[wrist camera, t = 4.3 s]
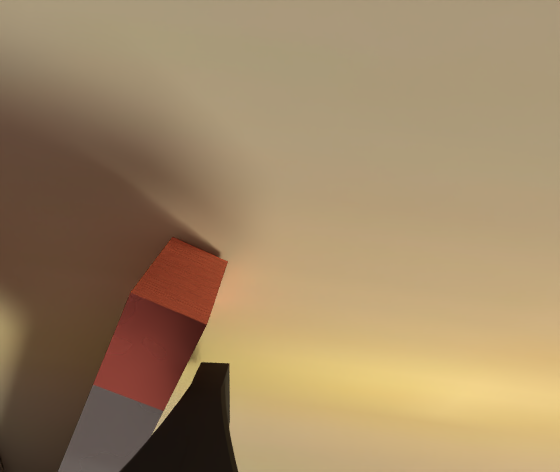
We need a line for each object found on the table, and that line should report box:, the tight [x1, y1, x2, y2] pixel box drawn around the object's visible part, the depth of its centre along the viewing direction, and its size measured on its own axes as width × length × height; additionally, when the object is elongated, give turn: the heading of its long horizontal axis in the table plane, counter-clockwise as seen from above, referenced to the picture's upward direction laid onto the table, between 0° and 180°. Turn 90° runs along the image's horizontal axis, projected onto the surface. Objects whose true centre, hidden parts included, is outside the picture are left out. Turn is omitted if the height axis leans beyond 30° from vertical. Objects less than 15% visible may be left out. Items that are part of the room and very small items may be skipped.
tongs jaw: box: [58, 237, 228, 472], centre depth 11 cm, size 12×2×3 cm, turn 154°
